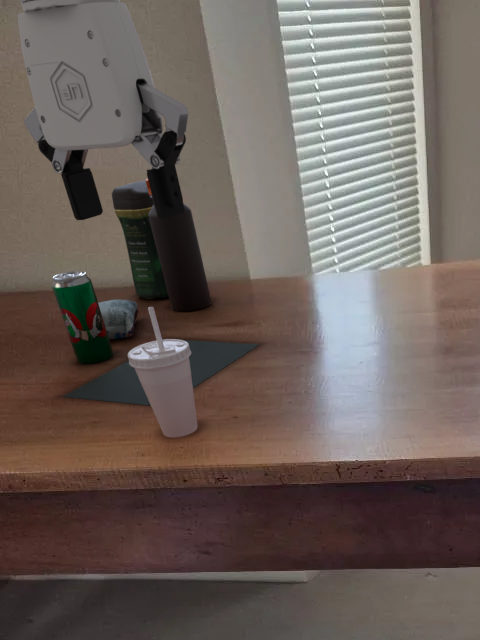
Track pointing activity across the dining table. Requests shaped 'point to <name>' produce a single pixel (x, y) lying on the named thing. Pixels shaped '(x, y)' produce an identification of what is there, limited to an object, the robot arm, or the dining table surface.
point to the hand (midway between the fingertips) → (130, 216)
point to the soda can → (82, 317)
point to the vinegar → (180, 259)
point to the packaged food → (119, 317)
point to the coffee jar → (140, 238)
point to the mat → (128, 387)
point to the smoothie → (167, 381)
